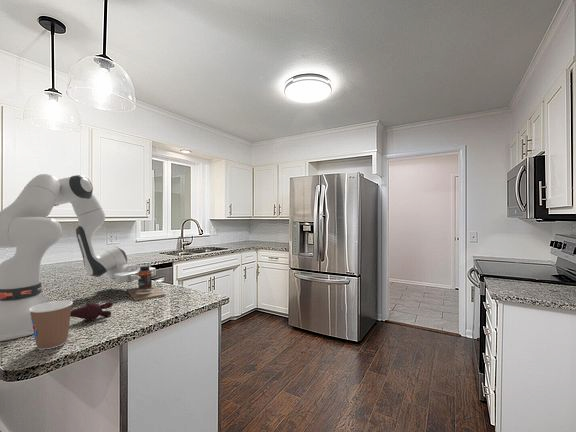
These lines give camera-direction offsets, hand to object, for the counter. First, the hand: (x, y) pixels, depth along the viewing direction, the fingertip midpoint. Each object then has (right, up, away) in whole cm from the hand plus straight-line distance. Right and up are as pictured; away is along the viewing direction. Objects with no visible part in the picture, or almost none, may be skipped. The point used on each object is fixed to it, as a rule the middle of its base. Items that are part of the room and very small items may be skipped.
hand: (146, 276), depth 141 cm
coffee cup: (-1, -9, -54) cm, 55 cm away
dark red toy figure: (-4, -9, -35) cm, 36 cm away
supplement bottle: (-1, -7, 0) cm, 7 cm away
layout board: (-1, -9, 0) cm, 9 cm away
